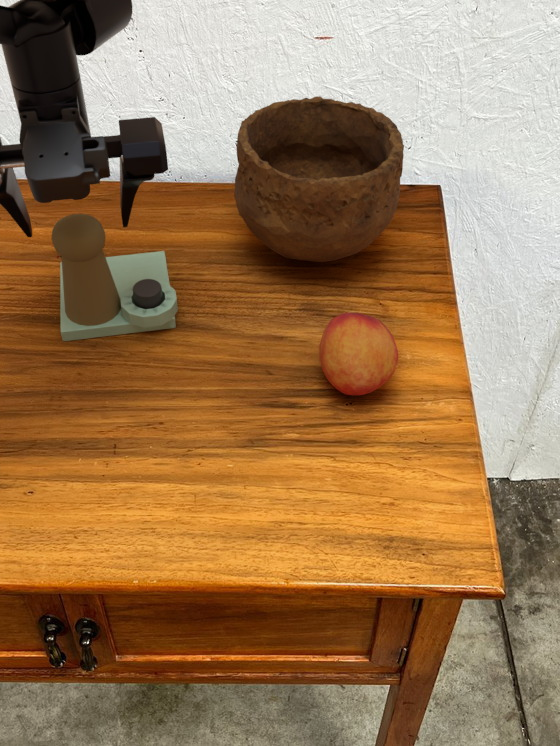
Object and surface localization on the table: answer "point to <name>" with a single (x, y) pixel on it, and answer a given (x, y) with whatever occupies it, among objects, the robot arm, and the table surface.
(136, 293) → the dark brown cylinder
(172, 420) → the table surface
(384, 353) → the fruit
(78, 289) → the brown game pawn
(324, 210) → the bowl
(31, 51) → the robot arm
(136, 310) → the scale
